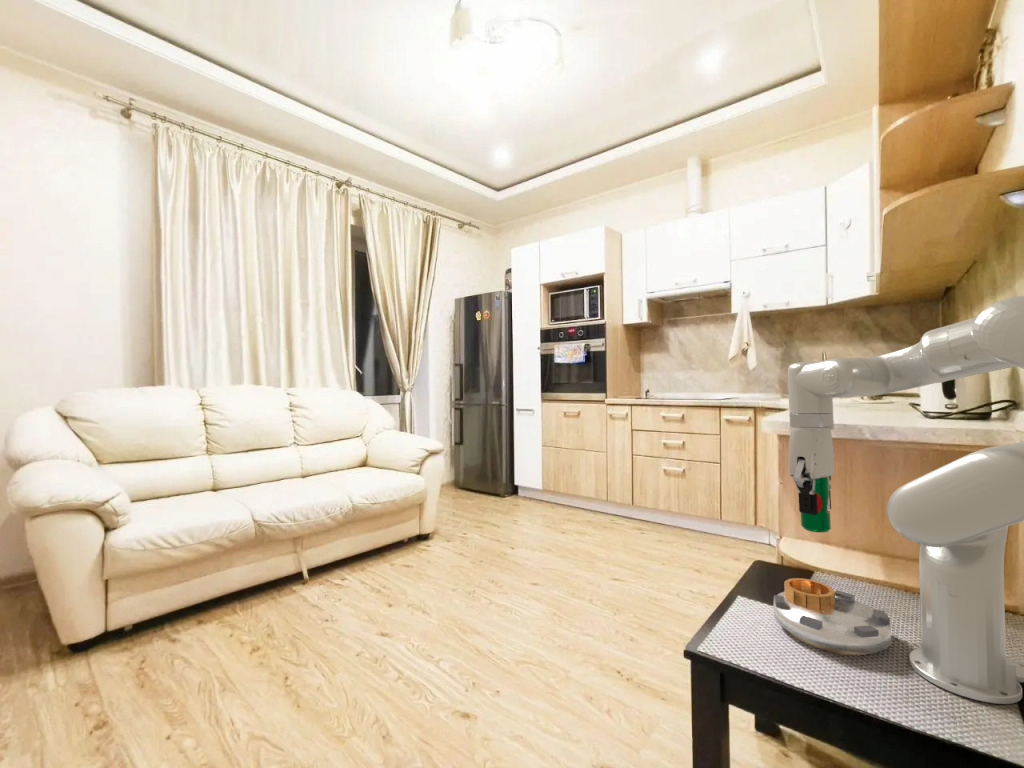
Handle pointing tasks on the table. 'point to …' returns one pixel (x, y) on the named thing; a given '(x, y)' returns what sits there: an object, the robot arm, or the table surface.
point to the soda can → (819, 508)
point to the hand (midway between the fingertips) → (815, 510)
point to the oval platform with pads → (831, 617)
